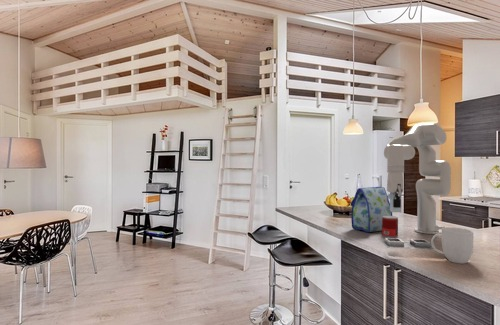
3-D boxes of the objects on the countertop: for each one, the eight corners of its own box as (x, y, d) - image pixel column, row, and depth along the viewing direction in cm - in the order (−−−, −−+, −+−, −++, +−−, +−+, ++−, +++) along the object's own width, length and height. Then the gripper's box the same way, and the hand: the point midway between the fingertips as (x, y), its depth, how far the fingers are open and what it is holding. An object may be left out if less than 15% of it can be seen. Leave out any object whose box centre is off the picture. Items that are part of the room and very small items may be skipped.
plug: (398, 211, 149) (398, 193, 149) (401, 212, 145) (401, 193, 145) (387, 210, 150) (387, 192, 150) (389, 212, 146) (390, 193, 146)
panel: (424, 243, 152) (425, 237, 152) (437, 251, 138) (437, 245, 138) (379, 241, 155) (379, 236, 155) (387, 249, 141) (387, 243, 141)
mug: (428, 259, 127) (429, 228, 127) (433, 253, 136) (433, 224, 136) (472, 267, 118) (472, 234, 118) (474, 260, 126) (474, 229, 126)
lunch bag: (371, 224, 197) (371, 185, 197) (394, 229, 183) (394, 187, 183) (347, 228, 186) (348, 186, 186) (370, 234, 172) (370, 188, 172)
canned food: (399, 238, 162) (399, 218, 162) (383, 237, 164) (384, 217, 164) (395, 235, 170) (395, 215, 170) (380, 234, 171) (380, 215, 171)
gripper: (382, 169, 156) (382, 204, 156) (393, 170, 140) (393, 209, 140) (397, 169, 155) (397, 204, 155) (410, 170, 139) (410, 209, 139)
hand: (395, 206), depth 147 cm, fingers closed on plug, 4 cm apart
